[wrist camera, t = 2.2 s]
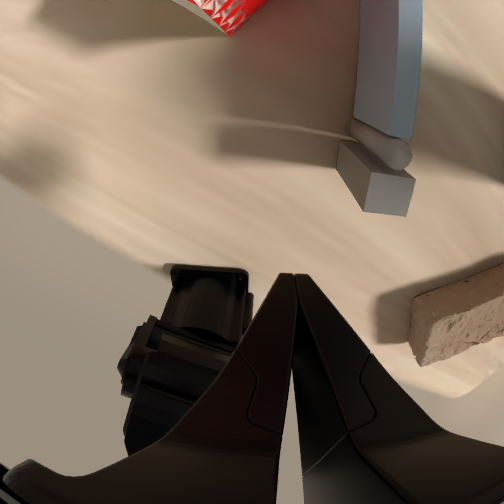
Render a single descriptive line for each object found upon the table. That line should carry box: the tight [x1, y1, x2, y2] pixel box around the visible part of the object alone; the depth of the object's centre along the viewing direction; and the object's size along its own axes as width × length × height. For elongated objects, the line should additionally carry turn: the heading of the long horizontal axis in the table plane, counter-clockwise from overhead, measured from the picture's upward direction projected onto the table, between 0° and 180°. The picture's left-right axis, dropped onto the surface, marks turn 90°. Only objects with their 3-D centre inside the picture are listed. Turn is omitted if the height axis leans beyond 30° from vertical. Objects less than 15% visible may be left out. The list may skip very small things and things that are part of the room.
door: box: [349, 0, 422, 170], centre depth 10 cm, size 3×16×6 cm, turn 178°
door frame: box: [336, 141, 416, 217], centre depth 9 cm, size 2×21×6 cm, turn 178°
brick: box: [408, 263, 504, 367], centre depth 23 cm, size 16×8×5 cm, turn 110°
